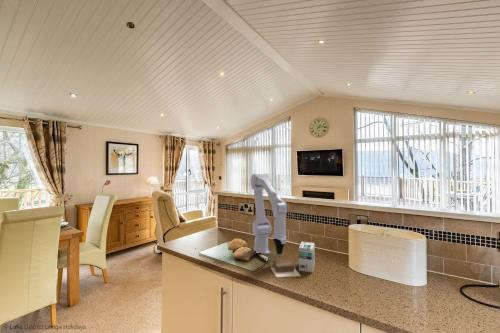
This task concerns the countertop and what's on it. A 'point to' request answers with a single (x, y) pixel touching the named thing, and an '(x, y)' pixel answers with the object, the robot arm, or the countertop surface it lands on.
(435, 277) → the countertop surface
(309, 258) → the light bulb box
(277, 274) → the cream mat
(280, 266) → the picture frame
